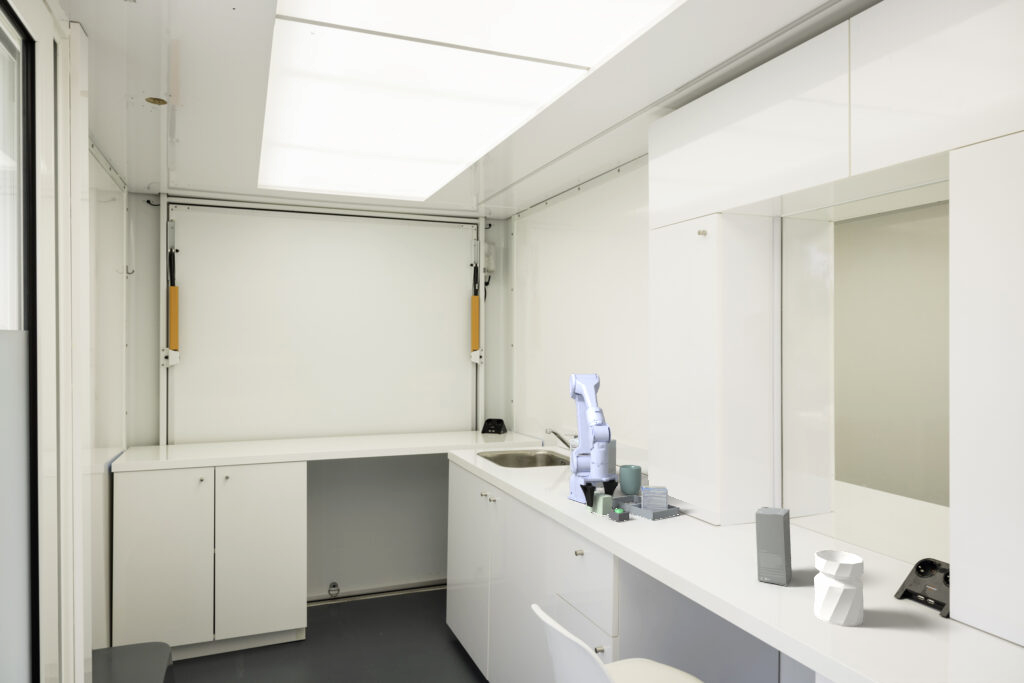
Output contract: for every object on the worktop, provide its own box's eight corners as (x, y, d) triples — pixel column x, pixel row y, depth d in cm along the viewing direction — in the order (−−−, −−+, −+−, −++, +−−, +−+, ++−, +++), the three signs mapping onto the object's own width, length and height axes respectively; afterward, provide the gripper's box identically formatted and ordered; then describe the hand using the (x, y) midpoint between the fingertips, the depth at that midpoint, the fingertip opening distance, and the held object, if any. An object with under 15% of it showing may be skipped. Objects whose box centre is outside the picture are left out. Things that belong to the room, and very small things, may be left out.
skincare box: (787, 587, 142) (787, 516, 142) (753, 580, 146) (754, 511, 146) (793, 576, 149) (793, 508, 149) (760, 570, 153) (761, 504, 153)
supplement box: (590, 478, 258) (591, 435, 259) (616, 484, 249) (617, 439, 249) (568, 483, 249) (569, 438, 250) (594, 489, 240) (595, 442, 240)
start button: (613, 518, 197) (613, 509, 197) (619, 517, 199) (619, 508, 199) (618, 520, 195) (618, 511, 195) (625, 519, 197) (625, 510, 197)
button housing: (608, 518, 198) (609, 510, 198) (619, 516, 200) (619, 508, 200) (618, 522, 194) (618, 513, 194) (629, 520, 196) (629, 512, 196)
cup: (644, 493, 233) (644, 466, 233) (636, 497, 226) (636, 469, 226) (624, 490, 237) (624, 464, 237) (616, 494, 230) (616, 467, 230)
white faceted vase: (827, 626, 122) (827, 563, 122) (806, 608, 131) (806, 549, 131) (872, 627, 122) (873, 564, 122) (848, 608, 131) (848, 549, 131)
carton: (586, 511, 207) (586, 492, 207) (595, 509, 209) (595, 491, 209) (602, 516, 200) (602, 497, 201) (611, 515, 203) (612, 496, 203)
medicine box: (665, 513, 205) (666, 486, 206) (667, 516, 201) (668, 489, 201) (641, 512, 206) (641, 485, 206) (642, 515, 202) (642, 488, 202)
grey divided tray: (607, 506, 213) (607, 498, 213) (633, 501, 220) (633, 494, 220) (652, 520, 196) (652, 512, 196) (679, 515, 203) (679, 507, 203)
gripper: (590, 466, 198) (589, 510, 198) (624, 462, 206) (624, 504, 205) (575, 463, 204) (575, 505, 203) (609, 459, 212) (609, 500, 211)
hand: (599, 505), depth 205 cm, fingers open, 7 cm apart
